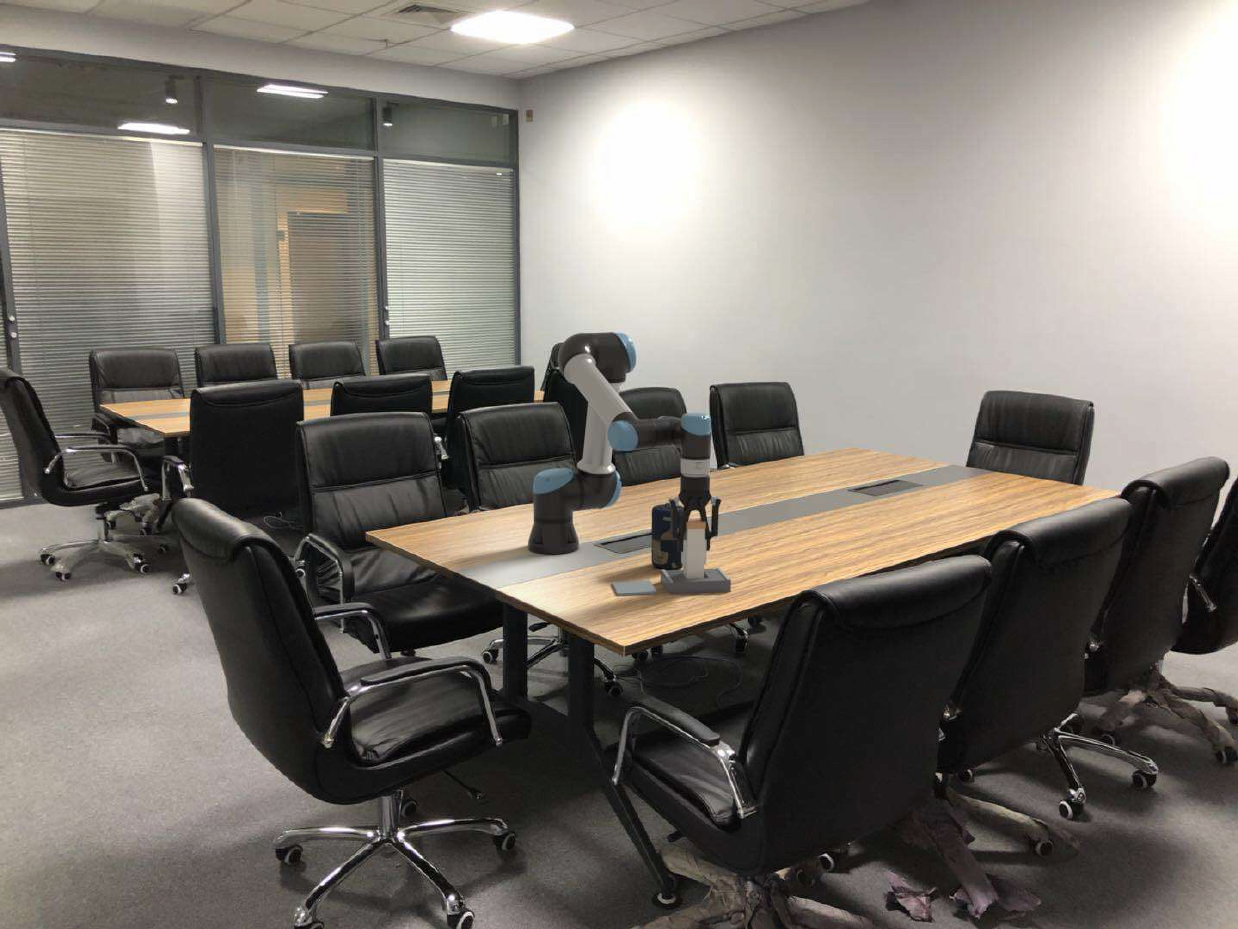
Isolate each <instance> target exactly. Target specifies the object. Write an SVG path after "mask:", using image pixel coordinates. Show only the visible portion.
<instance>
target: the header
mask: <svg viewBox="0 0 1238 929" xmlns="http://www.w3.org/2000/svg"><path fill="white" fill-rule="evenodd" d="M660 583H661V584H662V586H663V587H664V589H665V591H667V593H668V594H669V595H676V594H677V595H678V594H682V595H683V594H701V593H702V594H705V593H707V594H708V593H724V592H725V593H726V592H729V593H730V592H732V591H731V590H732V589H731V588H732V587H731V586H732V584H731V583H732V580H731V578H730V577H729V576H728V575H727V574H726V573H725V572H724V571H723V570H722V569H721V567H718V566H717V567H716V568H704V578H702V579H686V578H685V577H684V575H683V569H671V570H668V569H667V570H666V569H665V568H661V570H660Z"/></svg>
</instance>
